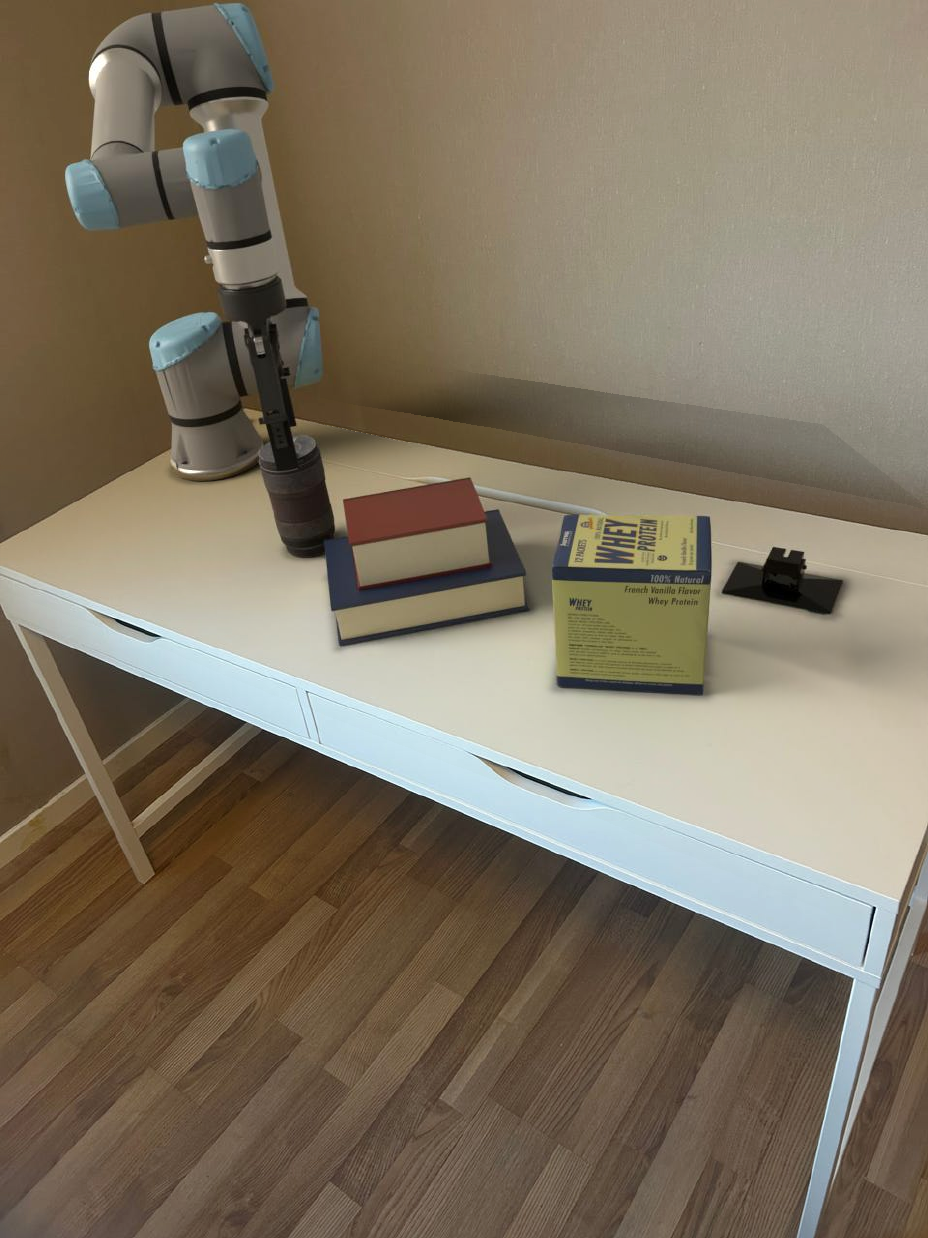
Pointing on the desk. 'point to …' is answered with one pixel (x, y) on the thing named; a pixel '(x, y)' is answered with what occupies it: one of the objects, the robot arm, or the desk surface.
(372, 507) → the dictionary
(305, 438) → the camera lens
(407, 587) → the encyclopedia
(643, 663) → the protein box
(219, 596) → the desk surface
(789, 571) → the build plate
